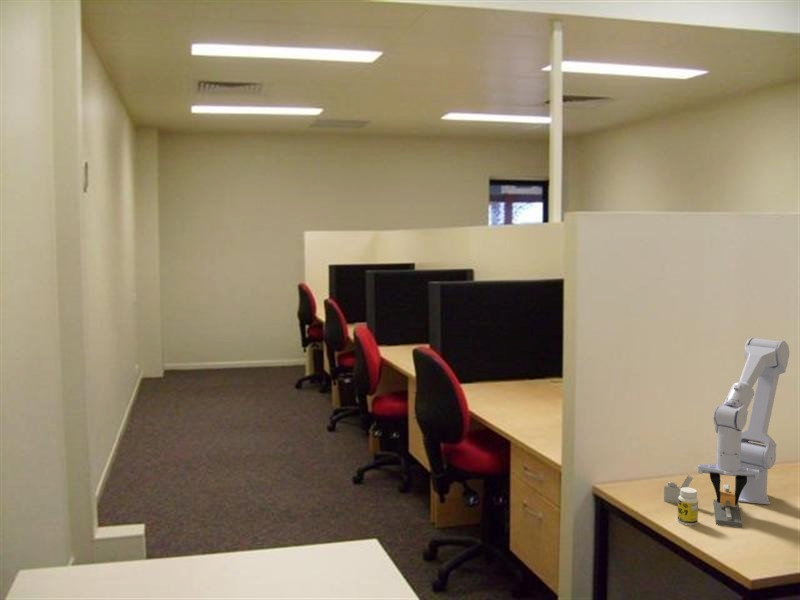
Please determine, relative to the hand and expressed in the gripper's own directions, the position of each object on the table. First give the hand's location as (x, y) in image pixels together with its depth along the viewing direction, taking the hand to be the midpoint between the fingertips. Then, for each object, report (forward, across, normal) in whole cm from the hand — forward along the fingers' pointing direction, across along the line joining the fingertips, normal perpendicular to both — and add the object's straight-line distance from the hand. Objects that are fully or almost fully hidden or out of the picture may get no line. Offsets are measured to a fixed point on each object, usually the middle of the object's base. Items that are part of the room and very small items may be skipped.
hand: (727, 502), depth 194 cm
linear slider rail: (+3, 0, -2) cm, 3 cm away
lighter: (+3, -12, +3) cm, 13 cm away
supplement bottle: (+3, -10, -10) cm, 14 cm away
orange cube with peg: (0, 0, -1) cm, 1 cm away
